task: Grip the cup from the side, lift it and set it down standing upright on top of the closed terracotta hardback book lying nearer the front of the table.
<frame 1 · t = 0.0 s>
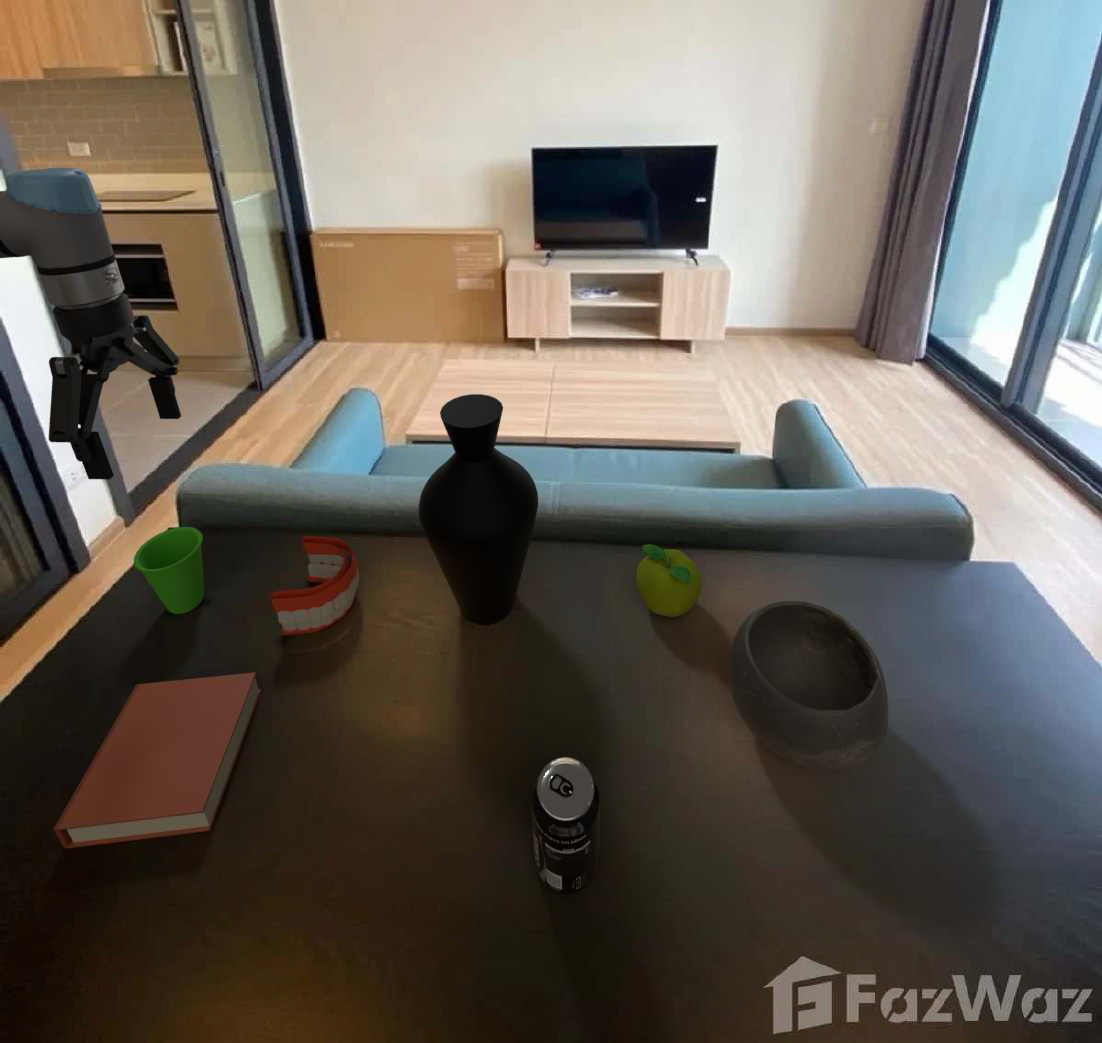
hand: (138, 445, 80), 31 cm above the table, tool pointing down, fingers open, 13 cm apart
fruit: (666, 606, 91), on the table
beverage can: (566, 858, 62), on the table
toy: (328, 604, 93), on the table
vase: (487, 602, 93), on the table
cup: (186, 601, 94), on the table
bowl: (796, 721, 75), on the table
book: (174, 760, 72), on the table
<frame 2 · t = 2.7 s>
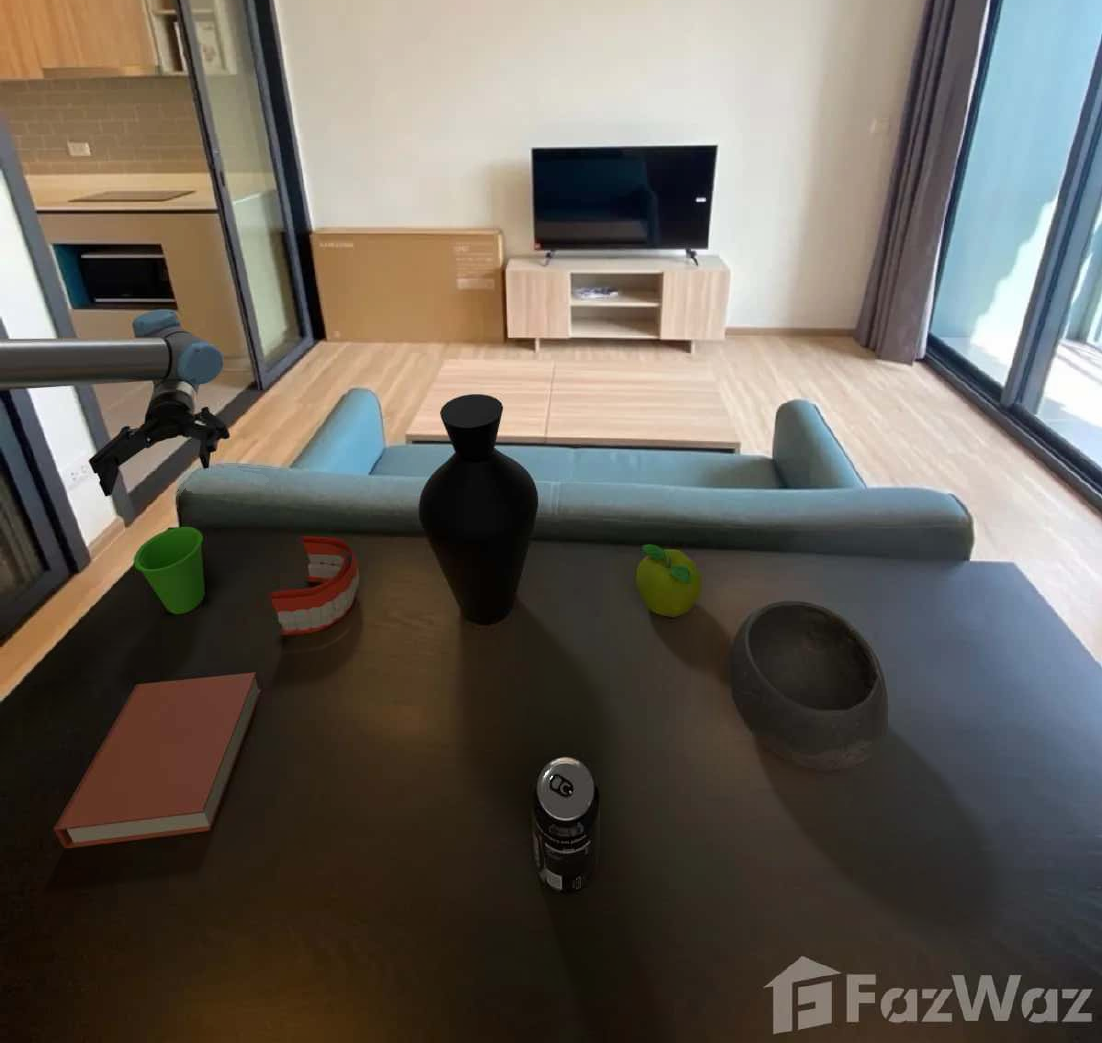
hand: (155, 475, 93), 19 cm above the table, tool horizontal, fingers open, 13 cm apart
nothing on the table moved.
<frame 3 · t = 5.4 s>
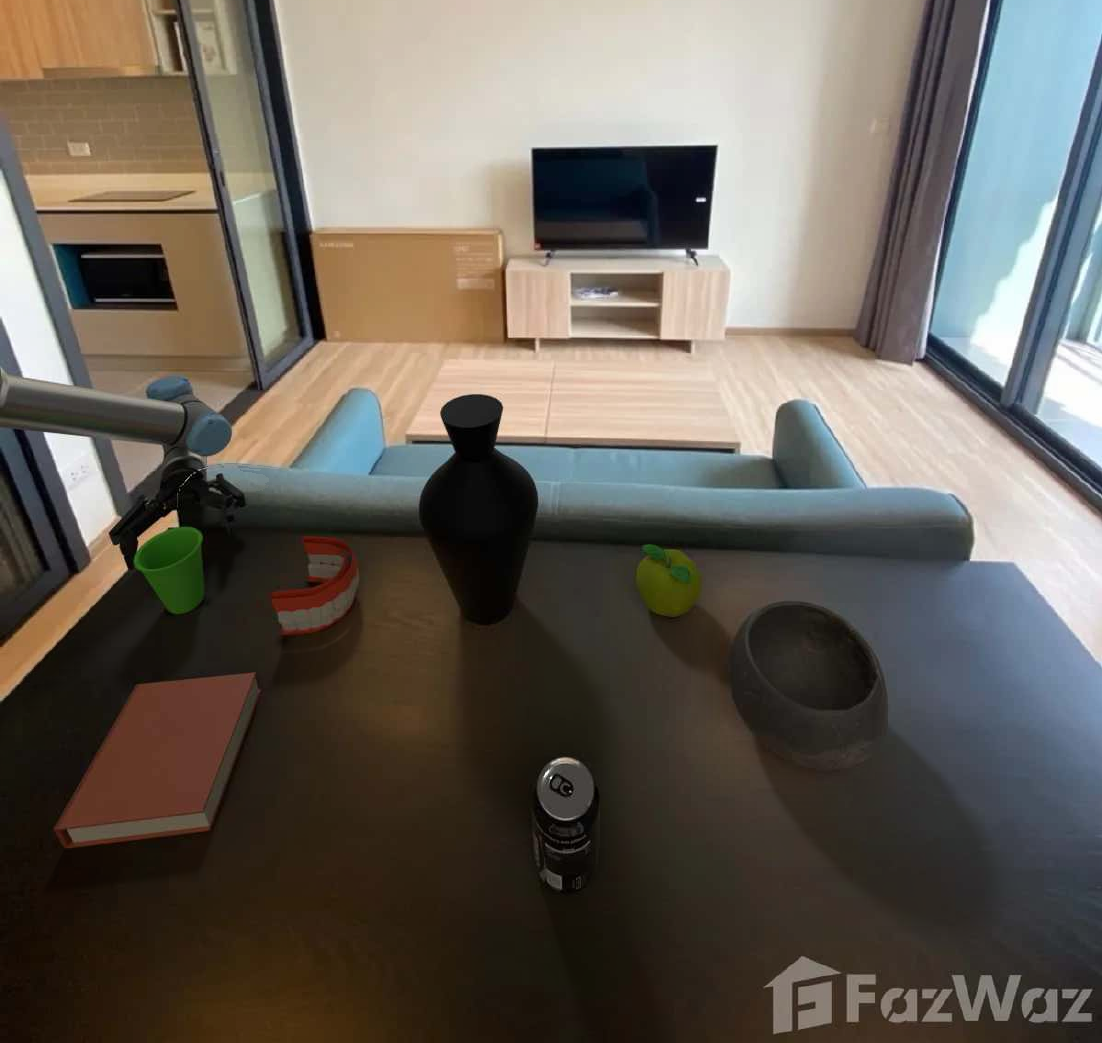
hand: (178, 547, 96), 6 cm above the table, tool horizontal, fingers open, 13 cm apart
nothing on the table moved.
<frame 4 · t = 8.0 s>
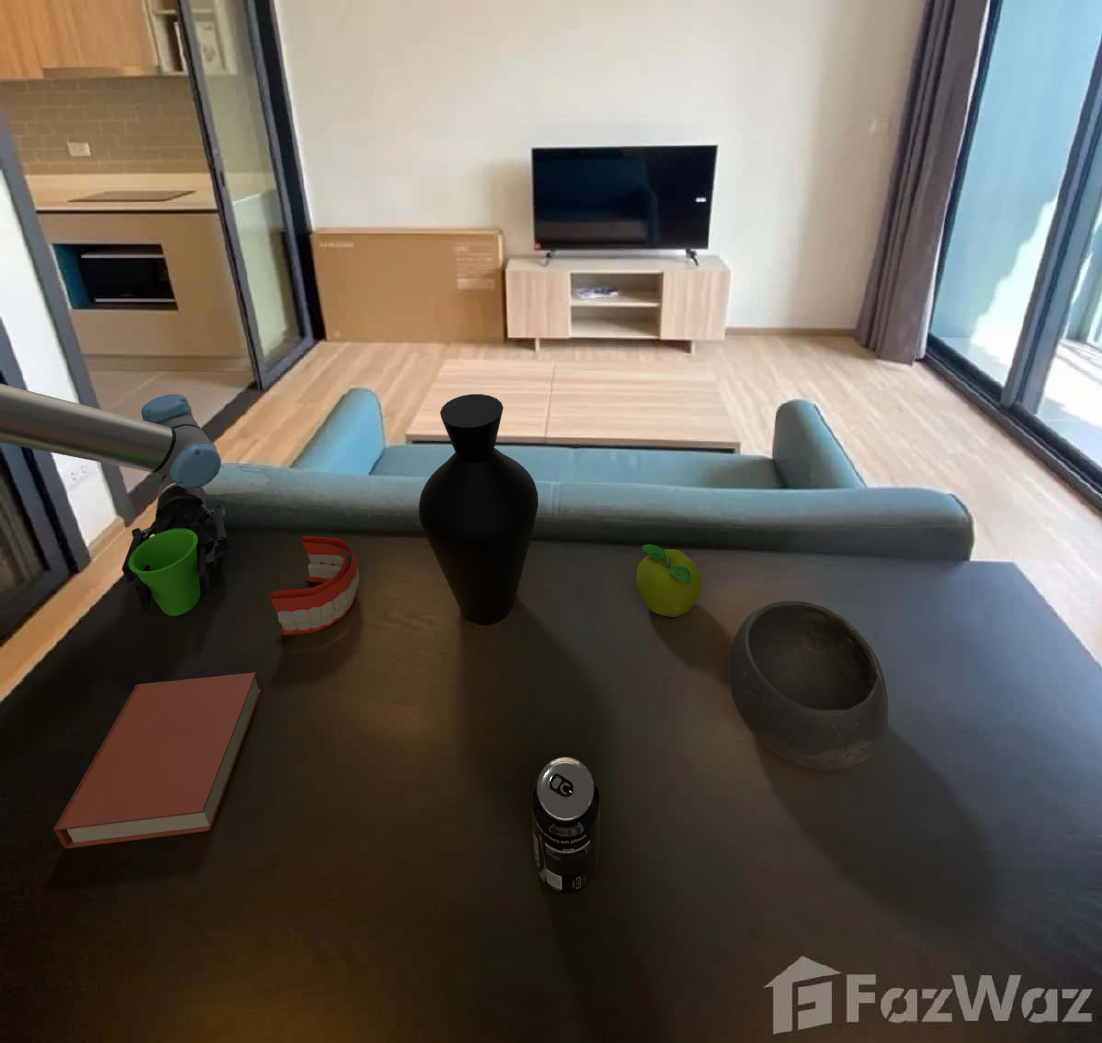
hand: (174, 592, 87), 7 cm above the table, tool horizontal, fingers closed on cup, 7 cm apart
cup: (182, 603, 94), on the table, touching gripper
everything else where it was.
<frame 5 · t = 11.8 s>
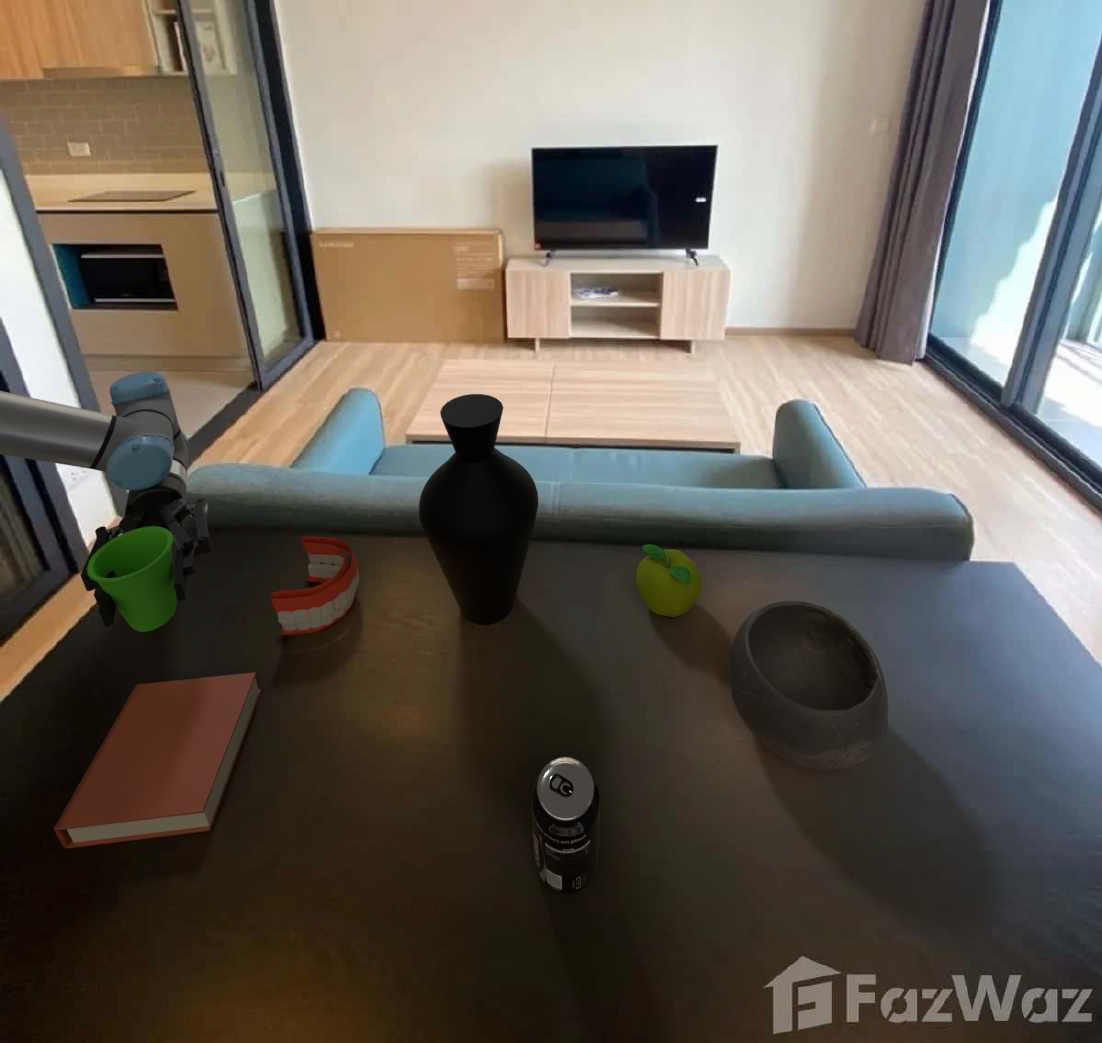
hand: (143, 604, 72), 18 cm above the table, tool horizontal, fingers closed on cup, 7 cm apart
cup: (155, 616, 78), point 11 cm above the table, touching gripper
everything else where it was.
when the fingers open (10 cm above the table, at t = 16.0 s): cup stays where it is, resting on book.
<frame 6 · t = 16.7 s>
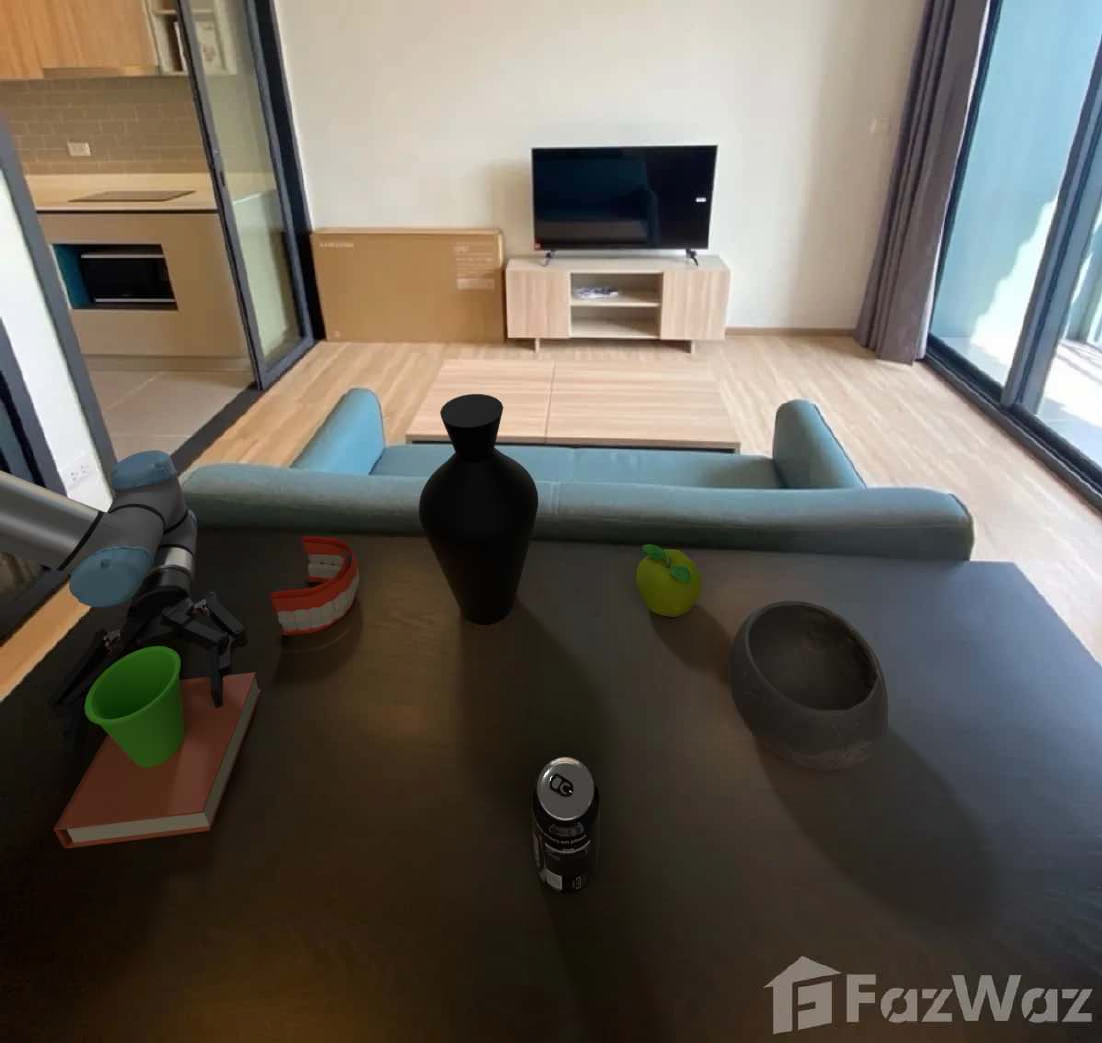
hand: (147, 728, 65), 11 cm above the table, tool horizontal, fingers open, 13 cm apart
cup: (160, 746, 70), point 3 cm above the table, touching book
everything else where it was.
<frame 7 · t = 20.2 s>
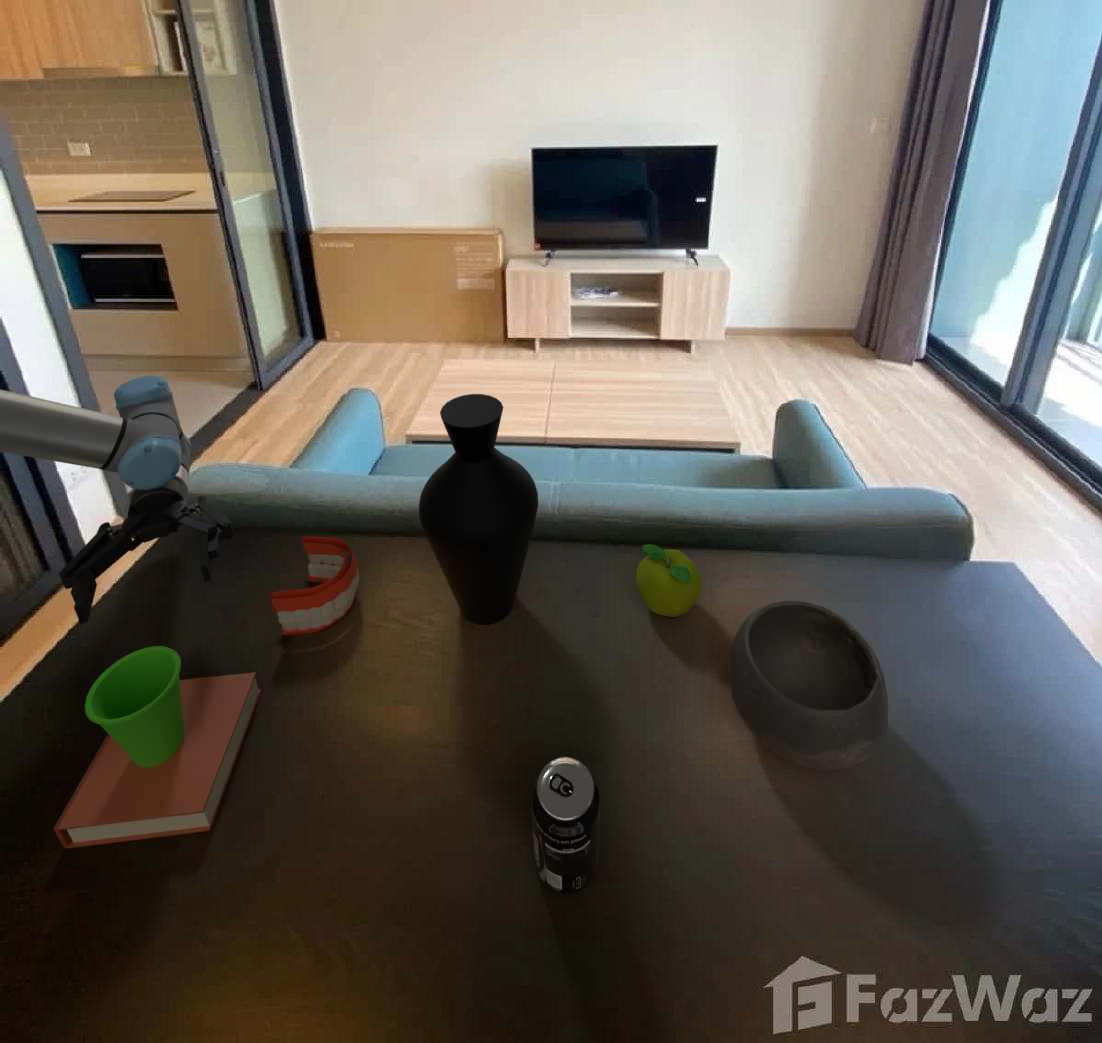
hand: (145, 593, 76), 16 cm above the table, tool horizontal, fingers open, 13 cm apart
nothing on the table moved.
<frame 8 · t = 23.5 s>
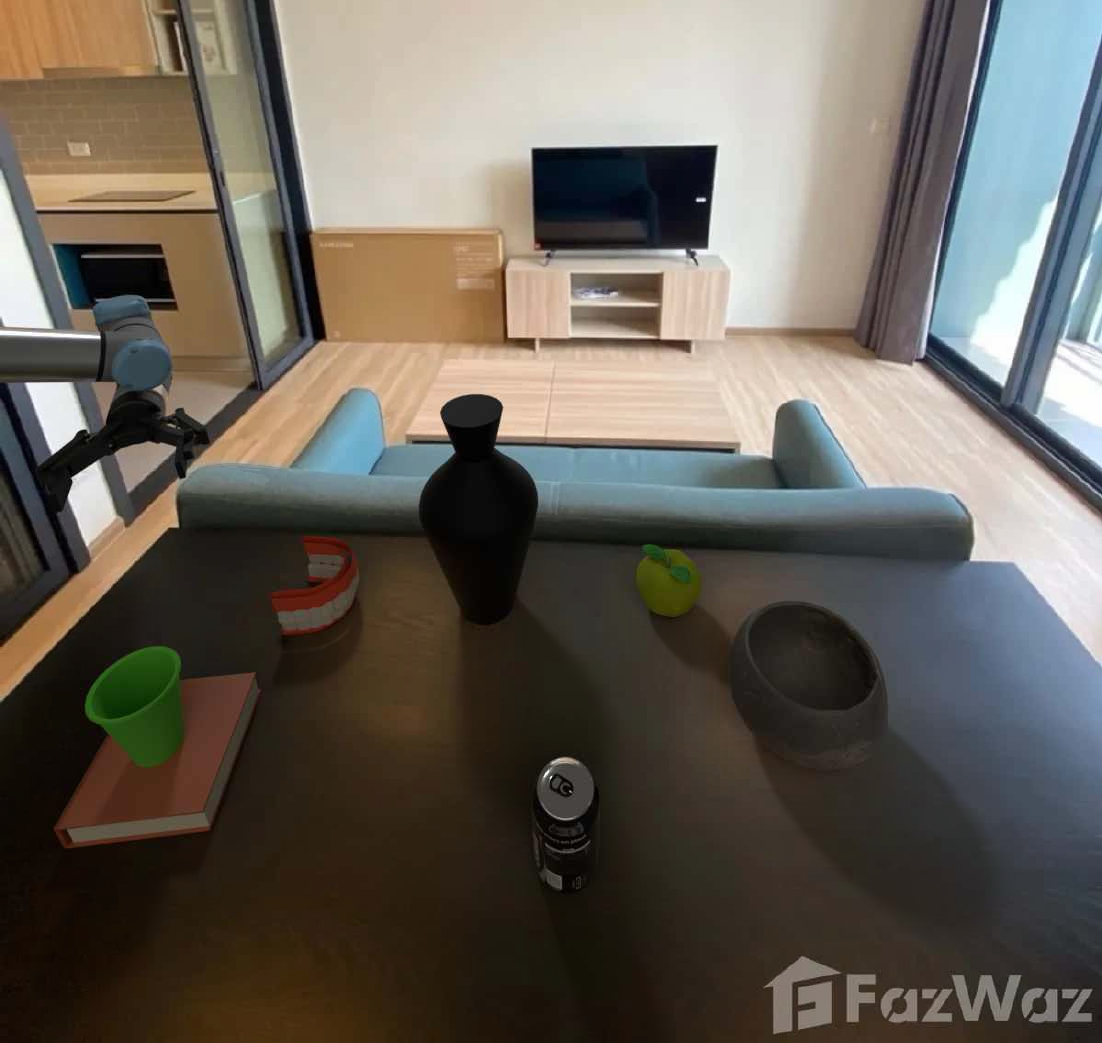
hand: (120, 486, 77), 28 cm above the table, tool horizontal, fingers open, 13 cm apart
nothing on the table moved.
at the end: cup inside the target area on the book (0.6 cm from its centre), point 3.4 cm above the book's base; cup tilted 0° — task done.
